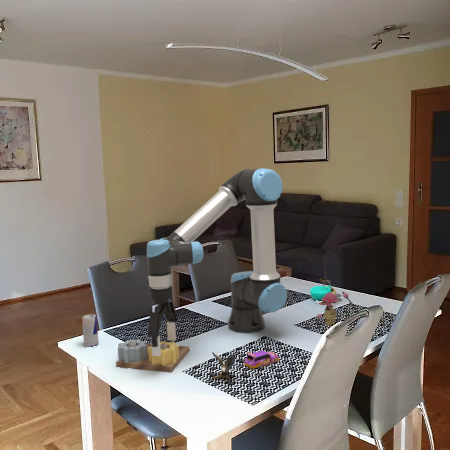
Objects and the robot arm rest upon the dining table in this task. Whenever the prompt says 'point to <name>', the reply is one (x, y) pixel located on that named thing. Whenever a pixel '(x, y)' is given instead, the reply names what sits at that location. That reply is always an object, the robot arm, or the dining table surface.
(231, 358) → the eagle figurine
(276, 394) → the dining table surface
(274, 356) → the toy car
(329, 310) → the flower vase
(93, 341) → the energy drink
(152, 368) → the gear board
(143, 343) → the slate gear
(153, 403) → the dining table surface
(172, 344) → the ochre gear
